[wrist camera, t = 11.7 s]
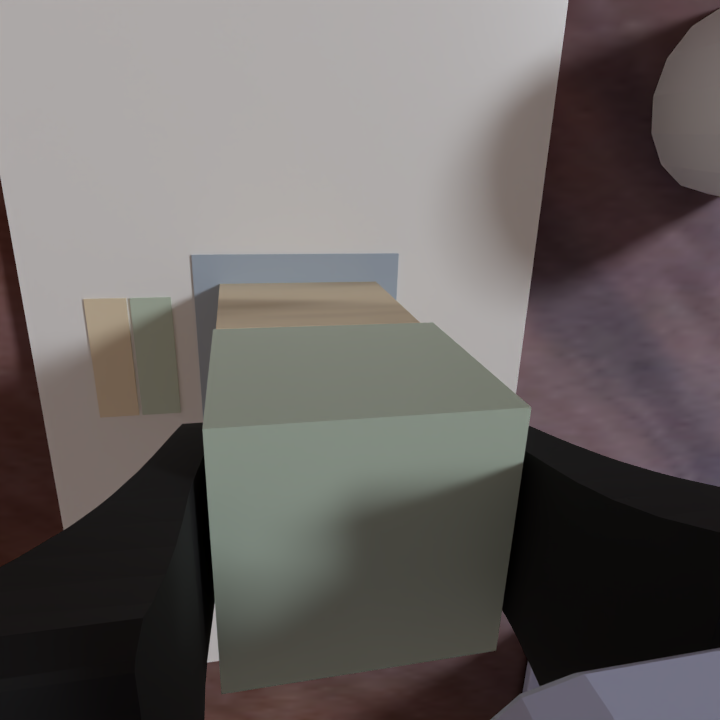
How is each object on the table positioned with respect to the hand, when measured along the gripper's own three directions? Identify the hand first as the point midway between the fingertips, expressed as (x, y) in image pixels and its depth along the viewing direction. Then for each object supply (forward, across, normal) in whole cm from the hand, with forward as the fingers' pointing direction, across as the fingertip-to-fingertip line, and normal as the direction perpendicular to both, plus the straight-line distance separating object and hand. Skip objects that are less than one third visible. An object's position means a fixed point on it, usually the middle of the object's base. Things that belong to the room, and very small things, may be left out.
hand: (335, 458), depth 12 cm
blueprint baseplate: (+7, 0, 0) cm, 7 cm away
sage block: (+1, 0, 0) cm, 1 cm away
